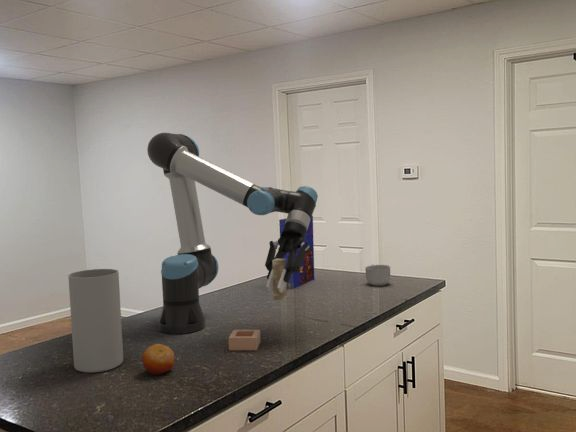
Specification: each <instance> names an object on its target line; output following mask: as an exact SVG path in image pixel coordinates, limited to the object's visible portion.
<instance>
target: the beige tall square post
mask: <svg viewBox="0 0 576 432" xmlns="http://www.w3.org/2000/svg"><path fill="white" fill-rule="evenodd" d="M272 264H273V288H272V294H273V295H272V298H273V301H285V300H286V299H287V298H288V297H287V294H288V293H287V288H286V283H285V286H284V289H283V292H282V293H280V292H279V290H278V288H277V286H278V283H279V281H280V278H281V275H282V272H283V269H286V259H274V260H272Z"/></svg>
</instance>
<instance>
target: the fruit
mask: <svg viewBox="0 0 576 432" xmlns="http://www.w3.org/2000/svg"><path fill="white" fill-rule="evenodd" d="M141 358H142V359H141V360H142V364H143V366H144V369H145V370H144V371H145V372H147V373H149V374H151V375H153V376H159V375H162V374H164V373H166V372H170V371H171V370H172V369H173V367H174V366H175V352H174V351H173V349H171V348H170V347H169V345H164V344H162V343H155V344H151V346H148V347H147V348H146V349H145V350H144V352H143V353H142V356H141Z"/></svg>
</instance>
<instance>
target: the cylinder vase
mask: <svg viewBox="0 0 576 432" xmlns="http://www.w3.org/2000/svg"><path fill="white" fill-rule="evenodd" d="M119 274H120V273H119V270H118V269H112V268H95V269H94V268H93V269H86V270H80V271H75V272H71V273H69V274H68V288H69V289H68V291H69V292H68V293H69V304H70V305H69V306H70V321H71V322H70V323H71V337H72V353H73V355H72V356H73V367H74V369H75V371H78V372H80V373H81V372H82V373H87V374H91V373H92V374H93V373H94V374H95V373H101V372H107V371H110V370H114V369H115V368H117V367H118V366H120V365H121V364H122V363H123V362H124V350H123V347H124V346H123V333H122V332H123V331H122V329H123V328H122V327H123V326H122V312H121V308H122V307H121V296H120V295H121V294H120V276H119Z"/></svg>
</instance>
